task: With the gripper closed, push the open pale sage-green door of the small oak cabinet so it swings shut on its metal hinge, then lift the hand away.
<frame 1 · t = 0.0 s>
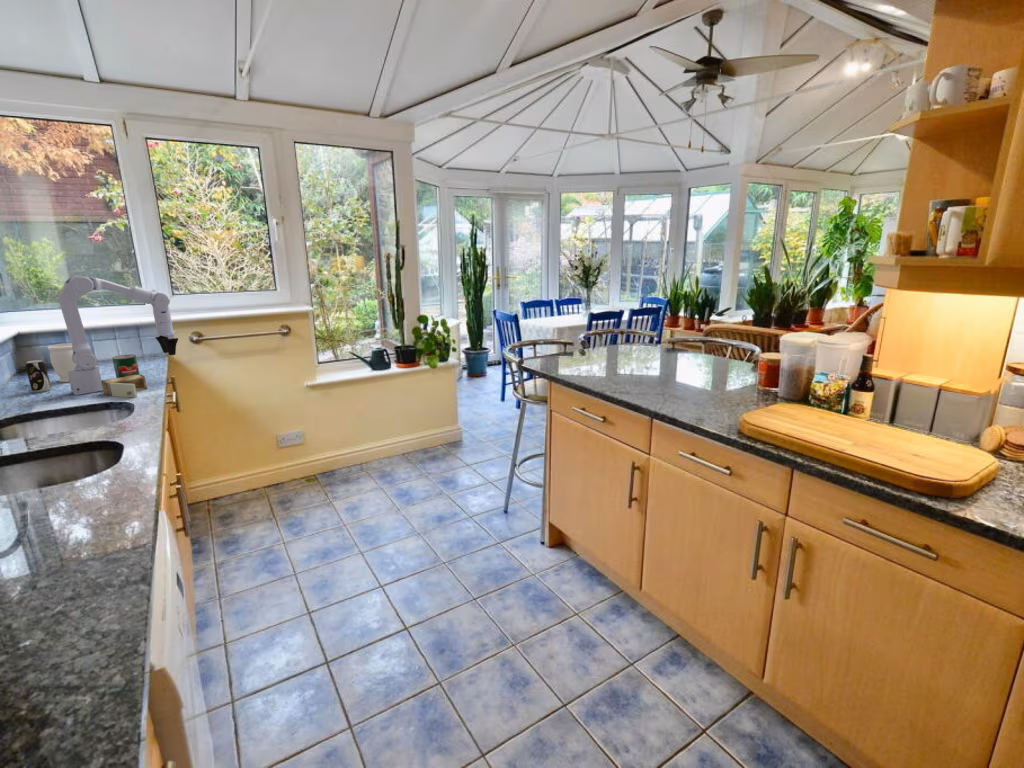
hand: (169, 353, 216), 10 cm above the countertop, tool pointing down, fingers open, 7 cm apart
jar: (72, 380, 215), on the countertop
cabinet: (126, 390, 198), on the countertop
canned tomato: (129, 382, 210), on the countertop
beverage can: (42, 391, 199), on the countertop
door: (120, 390, 189), point 3 cm above the countertop, hinge at -60.0°
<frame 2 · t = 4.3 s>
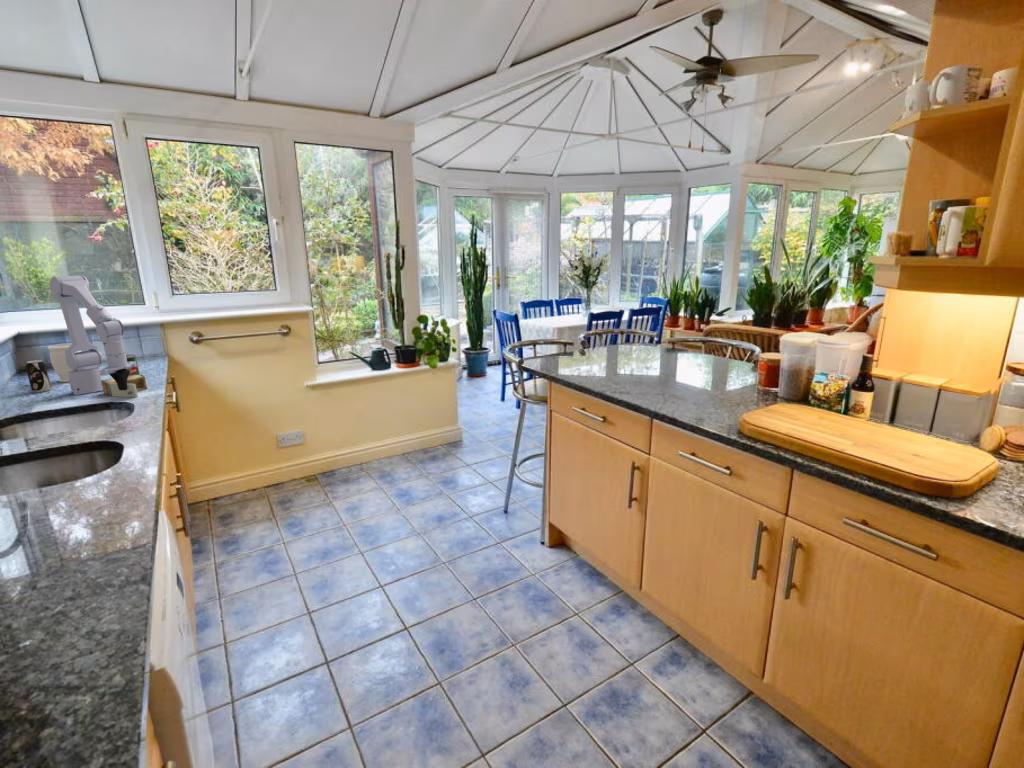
hand: (123, 389, 188), 3 cm above the countertop, tool pointing down, fingers closed, pressing on door
door: (121, 390, 189), point 3 cm above the countertop, hinge at -58.4°, touching gripper
everything else where it was.
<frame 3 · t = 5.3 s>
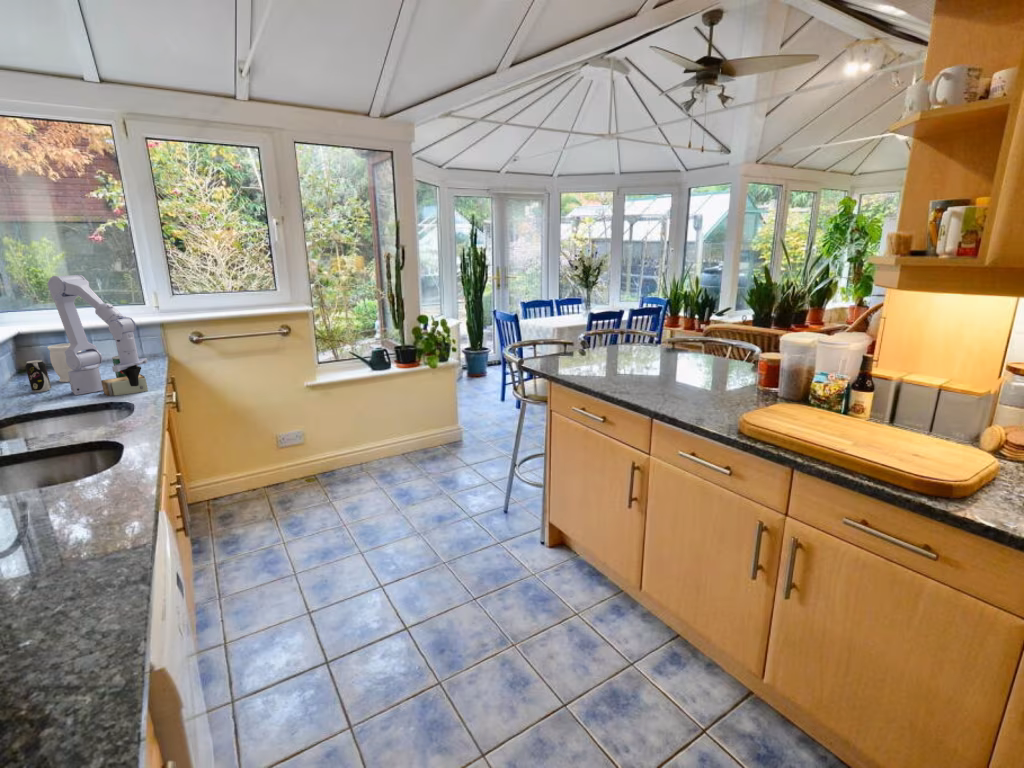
hand: (134, 385, 194), 3 cm above the countertop, tool pointing down, fingers closed, pressing on door
door: (127, 387, 193), point 3 cm above the countertop, hinge at -12.9°, touching gripper
everything else where it was.
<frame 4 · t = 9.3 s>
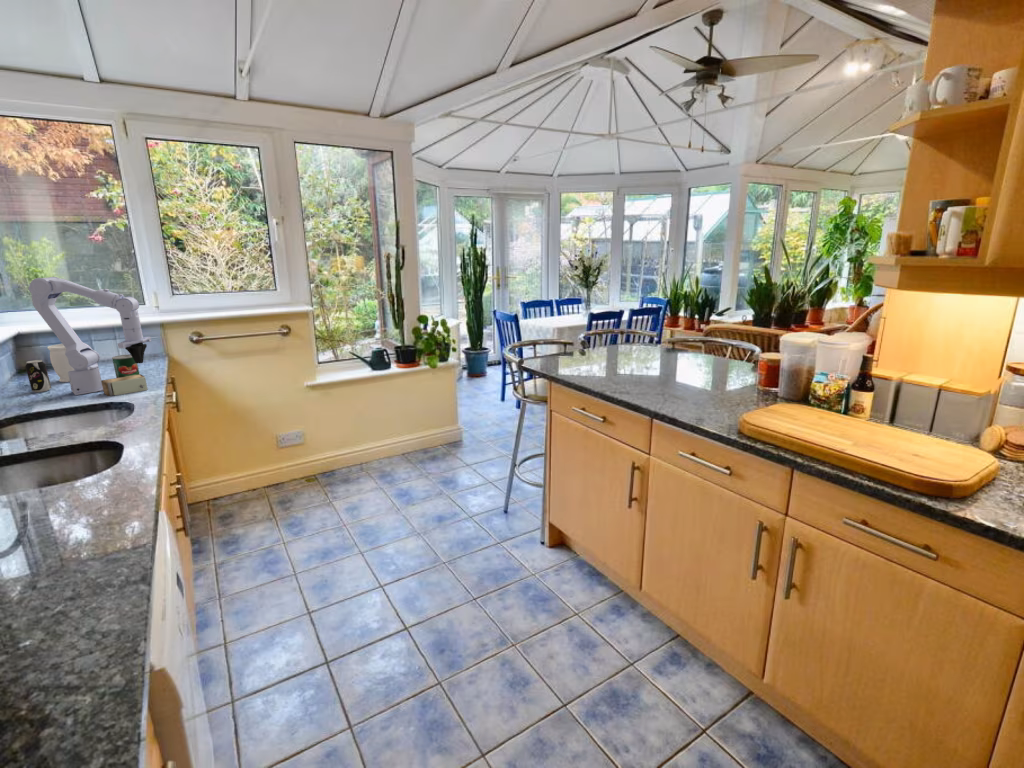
hand: (139, 363, 200), 10 cm above the countertop, tool pointing down, fingers closed
door: (128, 386, 194), point 3 cm above the countertop, hinge at -2.5°
everything else where it was.
at the end: door at -2° (first picture: -60°) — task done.
